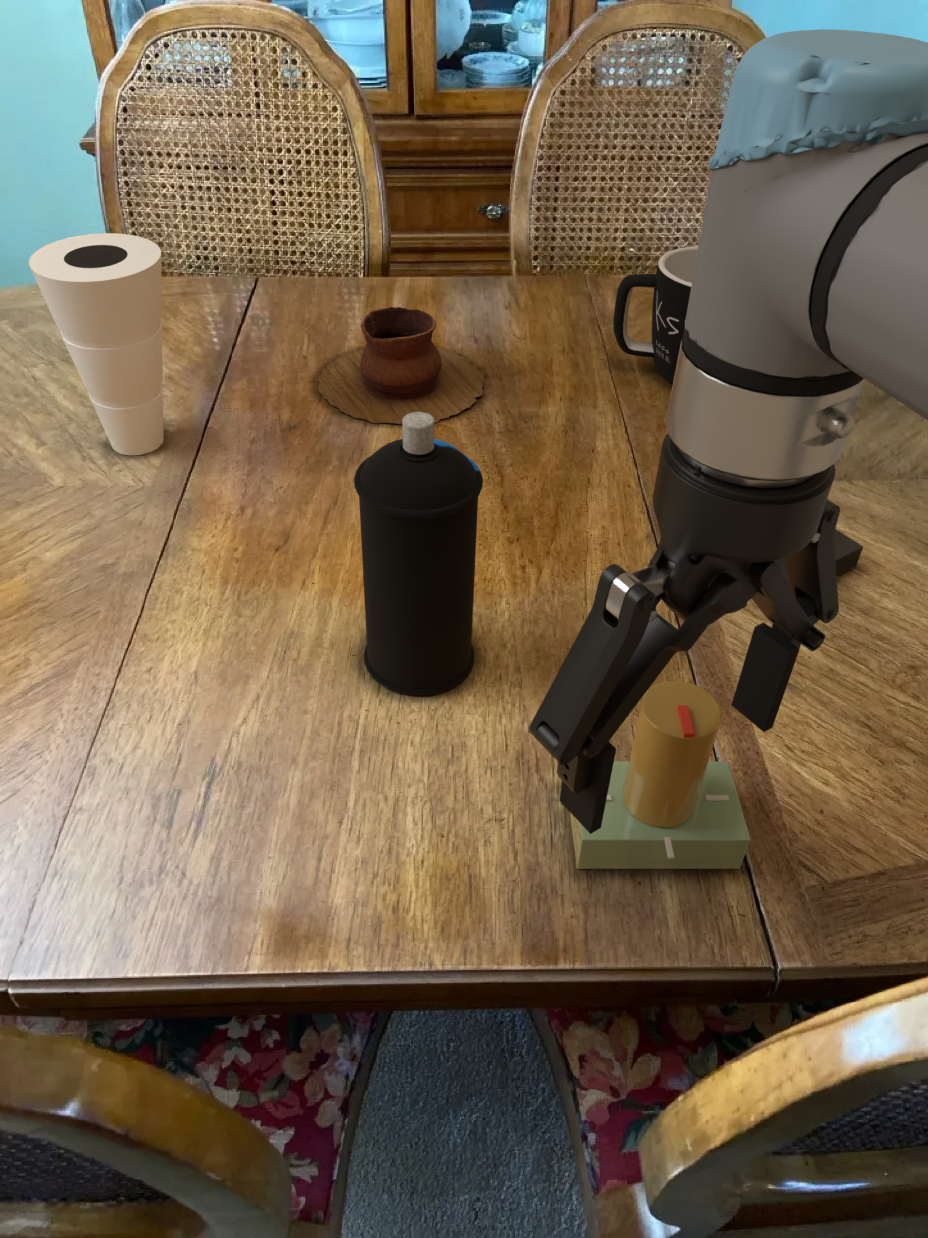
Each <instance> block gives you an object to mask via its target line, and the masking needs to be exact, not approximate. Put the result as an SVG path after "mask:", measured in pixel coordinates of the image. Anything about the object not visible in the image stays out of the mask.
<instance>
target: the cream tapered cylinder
mask: <svg viewBox="0 0 928 1238" xmlns="http://www.w3.org/2000/svg"><path fill="white" fill-rule="evenodd" d="M28 267H29V268H30V270H31V273H32V275H33V277H34V279H35V282H36V284H37V285H38V289H39V291H40V293H41V295H42V297H43V299H44V301H45V303H46V305H47V308H48V310H49V312H50V314H51V316H52V318H53V321H54V324H55V325H56V328H57V329H58V330H59V331H60V335H61V338H62V340H63V342H64V344H65V346H66V349H67V351H68V353H69V355H70V358H71V359H72V362H73V364H74V366H75V369H76V371H77V373H78V374H79V377H80V379H81V381H82V383H83V386H84V388H85V390H86V392H87V393H88V395H89V399H90V401H91V404H92V406H93V408H94V410H95V412H96V414H97V417H98V419H99V421H100V423H101V425H102V428H103V430H104V432H105V434H106V437H107V439H108V441H109V444H110V445H111V448H112V449H113V450H114V451H115V452H116V453H118V454H121V455H123V456H124V455H125V456H142V455H145V454H148V453H151V452H154V451H156V450H158V449H159V448H160V447H161V446H163V442H164V387H163V385H162V383H163V322H162V317H163V287H162V285H163V283H162V282H163V281H162V279H163V278H162V277H163V276H162V250H161V247H160V246H159V245H158V244H157V243H155V242H154V241H152V240H150V239H147V238H146V237H141V236H139V235H134V234H128V233H127V234H126V233H117V232H116V233H114V232H113V233H111V232H108V233H106V232H105V233H104V232H103V233H101V232H100V233H88V234H83V235H82V234H81V235H75V236H69V237H66V238H62V239H59V240H55V241H52V242H50V243H47V244H45V245H44V246H42V247H40V248H38V249H37V250H35V251H34V252H33V253H32V254H31V255H30V257H29V259H28Z"/></svg>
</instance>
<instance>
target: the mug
mask: <svg viewBox="0 0 928 1238" xmlns="http://www.w3.org/2000/svg"><path fill="white" fill-rule="evenodd" d="M698 246H699V245H697V246H696V245H695V246H684V247H680V248H676V249H673V250H670V251H668V252H666V253H664V254H663V255H661V256H660V258H659V259H658V261H657V265H656V271H655V273H635V274H634V273H633V274H627V275H626V276H624V278H623V279H622V280H621V281H620V283H619V285H618V287H617V290H616V297H615V301H614V309H613V319H612V321H613V323H612V324H613V325H612V327H613V333H614V337H615V341H616V343H617V345H618V347H619V348H620V350H621V351H623V352H624V353H625V354H628V355H631V356H635V357H642V358H653V364H654V368H655V370H656V373H657V374H658V375H659V376H660V377H661V378H663V379H664V380H666V381H667V382H668V383H671V384H673V380H674V375H675V370H676V365H677V360H678V355H679V350H680V345H681V339H682V338H683V334H684V329H685V321H686V315H687V309H688V303H689V298H690V292H691V286H692V280H693V275H694V269H695V263H696V257H697V252H698ZM634 288H647V289H653V296H652V307H651V308H652V309H651V310H652V311H651V342H644V341H636V340H632V339H631V338H630V336H629V333H628V314H629V308H630V302H631V297H632V293H633V290H634Z"/></svg>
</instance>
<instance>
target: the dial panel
mask: <svg viewBox="0 0 928 1238" xmlns="http://www.w3.org/2000/svg"><path fill="white" fill-rule="evenodd" d="M628 763H629V760H614V763H613V768H612V774H611V779H610V784H609V789H608V794H607V799H606V805H605V810H604V815H603V820H602V825H601V828H600V829H598V830H597V831H595V832H593V833H591V834H590V833H589V832H588V831H587V830H586V829H585V828H584V827H583V826H582V825H581V823H580V822H579V821H578V820H577V819H576V818H575V817H574V816H573V815H572V814H571V813H570V812H569V816H570V825H571V833H572V841H573V849H574V857H575V865H576V869H577V870H740V869H741V867H742V864H743V861H744V859H745V857H746V853H747V851H748V848H749V846H750V843H751V840H752V839H751V836H750V833H749V829H748V826H747V822H746V819H745V816H744V812H743V809H742V805H741V802H740V798H739V794H738V791H737V788H736V785H735V780H734V778H733V774H732V771H731V766H730V764H729V761H709V762H708V766H707V769H706V772H705V776H704V779H703V782H702V785H701V789H700V792H699V795H698V799H697V802H696V805H695V809H694V811H693V813H692V815H691V816H690V818H689V819H688V820H686V821H685V822H684V823H682V824H680V825H677V826H674V827H666V828H663V827H655V826H651V825H648V824H646V823H644V822H642V821H640V820H638V819H637V818H636V817H634V816H633V815H632V814H631V813H630V811H629V810H628V809H627V807H626V805H625V803H624V801H623V796H622V791H623V786H624V781H625V776H626V772H627V767H628Z"/></svg>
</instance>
